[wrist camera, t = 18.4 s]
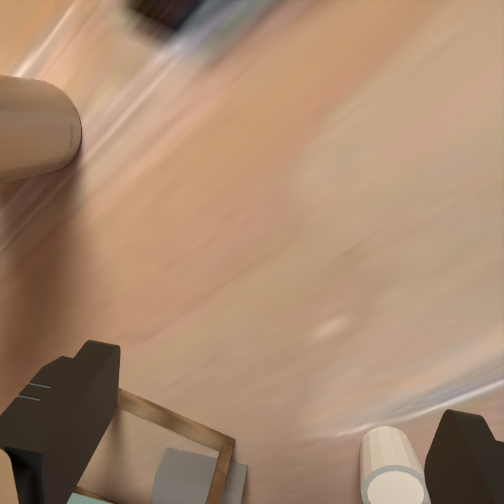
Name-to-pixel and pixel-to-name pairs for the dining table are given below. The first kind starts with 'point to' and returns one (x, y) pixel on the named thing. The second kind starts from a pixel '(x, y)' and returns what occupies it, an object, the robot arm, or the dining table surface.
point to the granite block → (194, 479)
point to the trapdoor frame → (184, 428)
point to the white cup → (390, 469)
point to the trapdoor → (84, 500)
